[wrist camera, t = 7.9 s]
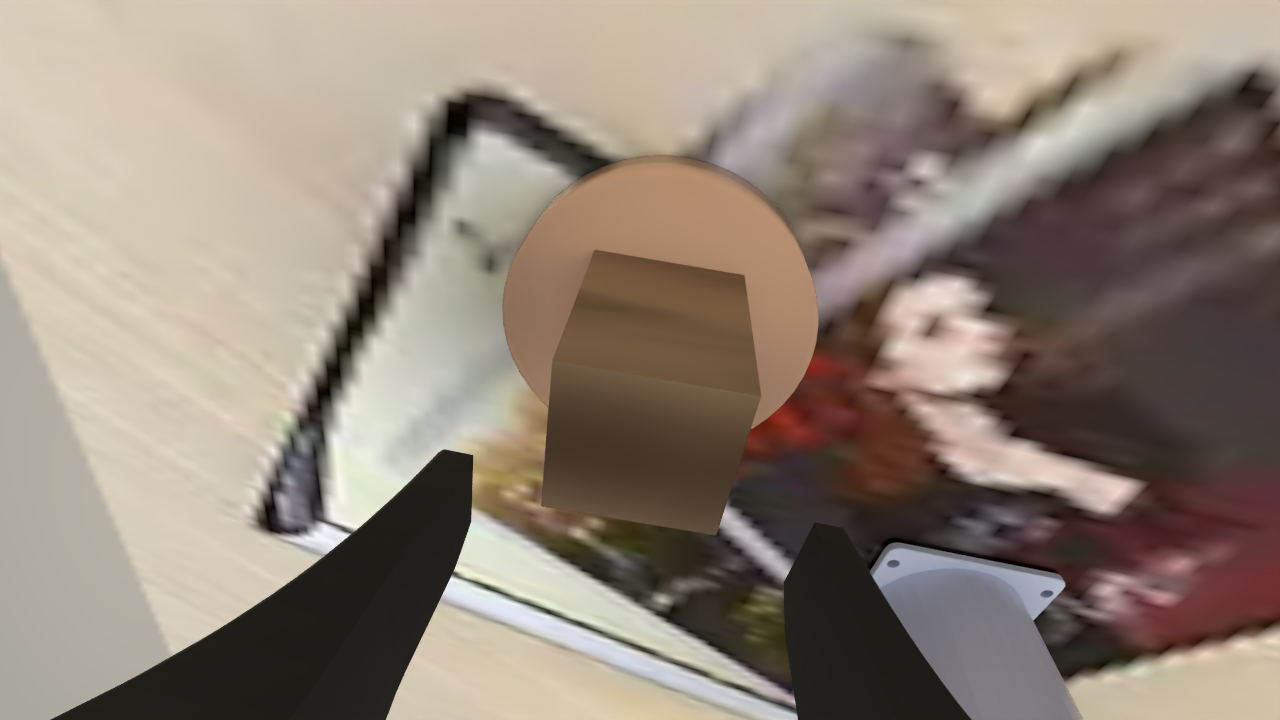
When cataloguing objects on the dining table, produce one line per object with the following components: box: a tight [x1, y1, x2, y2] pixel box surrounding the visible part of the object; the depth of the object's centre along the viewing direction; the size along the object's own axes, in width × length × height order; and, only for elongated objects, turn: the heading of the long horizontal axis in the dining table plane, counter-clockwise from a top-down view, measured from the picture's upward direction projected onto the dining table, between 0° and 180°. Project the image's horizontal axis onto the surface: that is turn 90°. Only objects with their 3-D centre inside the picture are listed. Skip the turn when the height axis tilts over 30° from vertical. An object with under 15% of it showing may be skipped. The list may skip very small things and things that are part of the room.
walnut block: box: [541, 250, 761, 535], centre depth 16 cm, size 4×4×6 cm
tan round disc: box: [503, 155, 818, 429], centre depth 20 cm, size 10×10×2 cm
